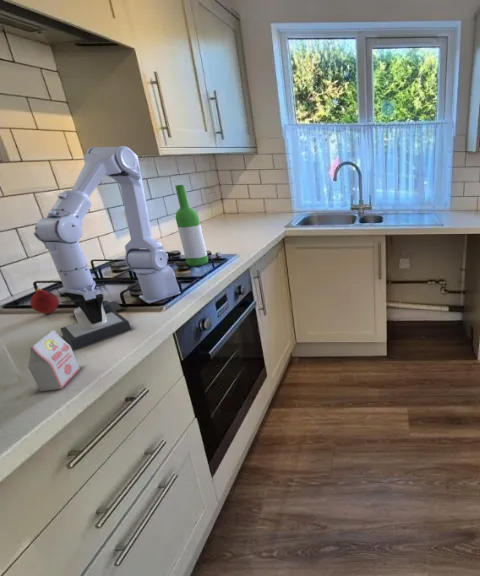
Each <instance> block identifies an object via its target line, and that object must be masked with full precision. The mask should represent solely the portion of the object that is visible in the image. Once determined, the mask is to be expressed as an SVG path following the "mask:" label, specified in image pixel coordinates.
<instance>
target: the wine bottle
mask: <svg viewBox="0 0 480 576" xmlns="http://www.w3.org/2000/svg"><path fill="white" fill-rule="evenodd" d="M174 188H175V191H176V196H177V200H178V205H179V209H178V210H177V211H176V213H175V221H176V225H177V230H178V234H179V237H180V242H181V246H182V250H183V253H184V258H185V261H186V264H187V266H188V267H200V266H203V265H206V264H208V263H209V257H208V251H207V247H206V242H205V238H204V235H203V229H202V226H201V221H200V217H199V214H198V212H197V211H196V210H195V209H193V208H192V207H190V203H189V199H188V195H187V191H186V187H185V185H184V184H177V185H175V187H174Z"/></svg>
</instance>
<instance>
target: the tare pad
mask: <svg viewBox="0 0 480 576" xmlns="http://www.w3.org/2000/svg"><path fill="white" fill-rule="evenodd" d="M102 303H103V305H102V306H103V308H104V311H105V314H107V313H110V312H113V311H116V312H117V313H119V312H122V311H124V310H125V309H124V307H122V305H120V304H119V303H117V302H116V301H114V300H113V301H108V300H103V301H102ZM72 315H73V316H74V317H75V318H76V316H75V314H74V312H73V314H72Z"/></svg>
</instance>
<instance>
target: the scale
mask: <svg viewBox="0 0 480 576" xmlns="http://www.w3.org/2000/svg"><path fill="white" fill-rule="evenodd" d="M106 316H107V320H108V321H107V322H106V323H105V324H103V325H101V326H99V327H96V328H91V329H82V328H80V326H79V324H78V322H76V323H72V324H69V325H66V326H63V327H60V328H59V330H60V332H61V334H62V336H63V338H64V340H65V341H66V342H67V343H68V344H69V345H70V346H71V348H73V350H77V349H81V348H84V347H86V346H89V345H92V344H94V343H97V342H100V341H103V340H106V339H109V338H111V337H115V336H117V335H120V334H122V333H124V332H128V331H131V330H132V327H131V324H130V321H129V320H127V318H125V317H124V316H123V315H121V314H120V313H119V312H116V311H113V312H110V313H107V314H106Z"/></svg>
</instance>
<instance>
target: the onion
mask: <svg viewBox="0 0 480 576" xmlns="http://www.w3.org/2000/svg"><path fill="white" fill-rule="evenodd" d="M35 291H36V292H35V293H33V295H32V296H31V298H30V301H29V303H30V306H31V308H32V310H34V311H35V312H37V313H42V314H45V315H51V314H52V313H54V312H55V311H56V309H57V308H58V307H59V304H60V301H59V298H58V297H57V296H56V295H55V294H54V293H53V292H51V291H48V290H45V289H42V288H41V289H40V288H36V289H35Z"/></svg>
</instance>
